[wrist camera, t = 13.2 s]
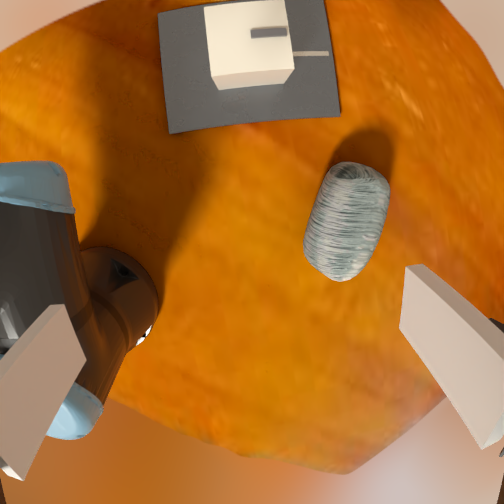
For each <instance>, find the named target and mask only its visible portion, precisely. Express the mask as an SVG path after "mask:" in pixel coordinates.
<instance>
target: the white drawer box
mask: <svg viewBox="0 0 504 504" xmlns="http://www.w3.org/2000/svg"><path fill="white" fill-rule="evenodd" d="M204 15H205V24H206V34H207V43H208V52H209V61H210V70H211V77H212V79H213V81H214V82H215V84H216V86H217V88H218V90H224V89H232V88H241V87H250V86H261V85H273V84H284V83H285V81H286V80H287V78H288V77H289V76H290V74H291V73H292V72H293V70H294V69H295V68H294V61H293V53H292V46H291V39H290V33H289V26H288V20H287V14H286V8H285V2H284V0H265V1H251V2H240V3H230V4H222V5H214V6H208V7H204Z"/></svg>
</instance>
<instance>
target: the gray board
mask: <svg viewBox="0 0 504 504" xmlns="http://www.w3.org/2000/svg"><path fill="white" fill-rule="evenodd" d="M251 1H265V0H237V1H228V2H219V3H212V4H205V5H198V6H192V7H186V8H181V9H176V10H171V11H166V12H161V13H158V25H159V39H160V51H161V63H162V73H163V83H164V93H165V102H166V111H167V119H168V127H169V134H175V133H180V132H186V131H193V130H199V129H206V128H213V127H220V126H228V125H236V124H245V123H254V122H264V121H276V120H288V119H304V118H324V117H340V108H339V99H338V91H337V83H336V75H335V67H334V60H333V54H332V47H331V41H330V35H329V29H328V23H327V17H326V12H325V7H324V2H323V0H284V2H285V8H286V14H287V20H288V26H289V33H290V39H291V46H292V53H293V61H294V68H295V69H294V70H293V72H292V73H291V74H290V76H289V77H288V78H287V80H286V81H285V83H284V84H273V85H261V86H250V87H241V88H232V89H224V90H218V88H217V86H216V84H215V82H214V81H213V79H212V77H211V70H210V61H209V52H208V43H207V34H206V24H205V15H204V7H208V6H214V5H222V4H230V3H240V2H251Z"/></svg>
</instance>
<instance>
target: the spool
mask: <svg viewBox="0 0 504 504" xmlns="http://www.w3.org/2000/svg"><path fill="white" fill-rule="evenodd" d="M389 200H390V186H389V184H388V182H387V180H386V179H385V177H384V176H383V175H381V174H380V173H379V172H378V171H376V170H375V169H373V168H371V167H369V166H366V165H363V164H360V163H355V162H341V163H338V164H336V165H334V166H333V167H331V168H330V170H329V171H328V173H327V174H326V176H325V178H324V180H323V183H322V185H321V187H320V189H319V192H318V195H317V198H316V200H315V203H314V206H313V209H312V212H311V214H310V217H309V220H308V224H307V228H306V231H305V236H304V240H303V249H304V254H305V257H306V258H307V260H308V261H309V263H310V264H311V265H313V266H314V267H315V268H316V269H317V270H318V271H320V272H321V273H323V274H324V275H325V276H327V277H329V278H330V279H332V280H335V281H346V280H350V279H351V278H353V277H355V276H356V275H357V274H358V273H359V272H360V271H361V270H362V269H363V268H364V267H365V266H366V264H367V263H368V261H369V259H370V258H371V256H372V254H373V252H374V250H375V247H376V245H377V243H378V241H379V238H380V235H381V232H382V229H383V226H384V222H385V219H386V215H387V210H388V205H389Z"/></svg>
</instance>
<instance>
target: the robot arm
mask: <svg viewBox="0 0 504 504" xmlns="http://www.w3.org/2000/svg"><path fill="white" fill-rule="evenodd" d="M74 214H75V208H74V207H73V205H72V200H71V195H70V189H69V184H68V178H67V174H66V172H65V170H64V169H63V168H62V167H61V166H60V165H59V164H57V163H55V162H52V161H21V162H8V163H0V468H1V469H2V470H3V471H4V472H5V473H6V474H7V475H8V476H11V477H14V478H16V479H19V480H22V481H24V479H25V477H26V475H27V472H28V470H29V468H30V466H31V464H32V462H33V460H34V458H35V456H36V453H37V451H38V449H39V447H40V445H41V443H42V441H43V439H44V437H45V435H48V436H51V437H55V438H59V439H66V440H73V439H78V438H82V437H84V436H85V435H86V434H88V433H89V432H90V431H91V430H92V428H93V427H94V425H95V423H96V421H97V419H98V418H99V416H100V415H101V414H102V413H103V409H104V408H103V405H104V403H105V401H106V399H107V396H108V394H109V392H110V389H111V387H112V385H113V382H114V380H115V378H116V375H117V373H118V371H119V369H120V366H121V364H122V362H123V360H124V357H125V355H126V353H128V352H129V351H130V350H132V349H133V348H134V347H135V346H136V345H138V344H139V343H141V342H142V341H143V340H144V339H145V338H146V337H147V336H148V334H149V333H150V331H151V330H152V328H153V325H154V323H155V321H156V318H157V314H158V307H159V303H158V295H157V291H156V288H155V286H154V283H153V281H152V280H151V278H150V276H149V275H148V273H147V272H146V271H145V269H144V268H143V267H142V266H141V265H140V264H139V263H138V262H137V261H136V260H134V259H133V258H132V257H130V256H129V255H127V254H125V253H123V252H121V251H119V250H116V249H113V248H108V247H93V248H88V249H85V250H83V251H81V250H80V245H79V240H78V235H77V230H76V223H75V216H74ZM399 329H400V331H401V332H402V333H403V335H404V336H405V337H406V339H407V340H408V341H409V343H410V344H411V346H412V347H413V348H414V350H415V351H416V352H417V354H418V355H419V357H420V358H421V359H422V361H423V362H424V364H425V365H426V366H427V368H428V369H429V371H430V372H431V374H432V375H433V377H434V378H435V379H436V381H437V382H438V384H439V385H440V387H441V388H442V390H443V391H444V393H445V394H446V396H447V397H448V399H449V400H450V402H451V403H452V405H453V406H454V408H455V409H456V411H457V412H458V414H459V415H460V417H461V418H462V420H463V421H464V423H465V425H466V426H467V427H468V429H469V431H470V432H471V434H472V436H473V437H474V438H475V440H476V442H477V444H478V445H479V447H480V449H483V448H485V447H487V446H489V445H491V444H493V443H495V442H497V441H499V440H500V439H501V438H502V436H503V434H504V324H502V323H500V322H498V321H496V320H494V319H492V318H490V319H488V318H487V317H485V316H484V315H483V314H482V313H481V312H480V311H479V310H478V309H476V308H475V307H474V306H473V305H472V304H471V303H470V302H468V301H467V300H466V299H465V298H464V297H463V296H461V295H460V294H459V293H458V292H457V291H455V290H454V289H453V288H452V287H451V286H449V285H448V284H447V283H446V282H445V281H443V280H442V279H441V278H440V277H439V276H437V275H436V274H435V273H434V272H432V271H431V270H430V269H429V268H427V267H426V266H425V265H424V264H418V265H411V266H406V269H405V281H404V292H403V301H402V310H401V318H400V326H399ZM503 455H504V448H503V449H502V451H501V453H500V455H499V457H502V456H503ZM0 504H6V501H5V497H4V493H3V489H2V484H1V480H0ZM497 504H504V476H503V480H502V485H501V489H500V493H499V497H498V501H497Z"/></svg>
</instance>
